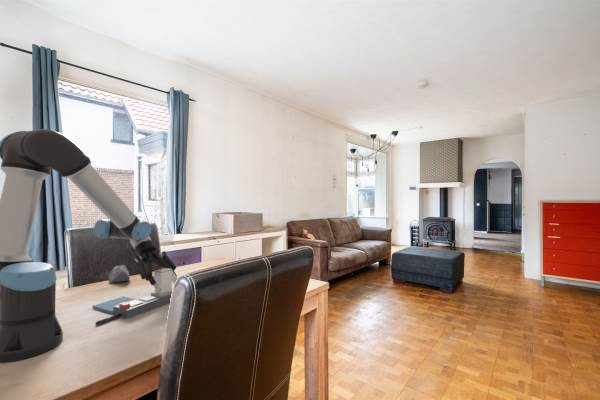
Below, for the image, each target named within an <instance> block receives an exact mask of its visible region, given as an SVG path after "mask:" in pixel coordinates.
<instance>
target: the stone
mask: <svg viewBox="0 0 600 400" xmlns="http://www.w3.org/2000/svg"><path fill="white" fill-rule="evenodd" d="M130 278H131V276H130V271H129V270H128V269H127V267H126V265H125V264H121V265H116V266H114V267H113V268H112V270H111V271H110V272H109V275H108V283H109V284H115V282H116V283H120V282H121V283H122V282H129V281H130Z"/></svg>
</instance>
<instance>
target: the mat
mask: <svg viewBox="0 0 600 400" xmlns="http://www.w3.org/2000/svg"><path fill="white" fill-rule="evenodd" d="M135 299H136V298H133V297H129V296H128V297H127V296H120V297H117V298H114V299H110V300H107V301H105V302H101V303H97V304H93V305H92V309H94V310H97V311H100V312H103V313H106V314H111V315H113V306H116V305H119V304H120V303H123V302H128V301H132V300H135Z"/></svg>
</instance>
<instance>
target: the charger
mask: <svg viewBox="0 0 600 400" xmlns="http://www.w3.org/2000/svg"><path fill="white" fill-rule="evenodd" d="M154 275H155V276H156V278H157V280H158V281H159V283H160V285H161V286H162V289H161V290H160V292H158V294H163V293H166V292H169V291H172V289H173V282H172V269H169V268H159V269H156V270H154ZM154 291H155V293H157V291H156V289H155V288H154Z"/></svg>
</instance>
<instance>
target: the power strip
mask: <svg viewBox="0 0 600 400" xmlns="http://www.w3.org/2000/svg"><path fill="white" fill-rule="evenodd" d="M172 290H173V288H172ZM171 294H172V291H169V292H166V293H163V294H158V293H155V290H154V291H152V292H151V291H150V294H147V295H144V296H141V297H137V298H134V299H135V300H132V301H128V302H123V303H120V304H119V305H116V306H113V314H112V316H109V317H106V318H103V319H100V320H98V321H97V320H96V321H95V325H96V326H99V325H103V324H105V323H107V322H111V321H113V320H115V319H116V320H117V319H118V318H123V319H130V318H132V317H136V316H139V315H140V314H141V315H142V314H144V313H147V312H149V311H151V310H153V309H154V310H155V309H156V308H159V307H162V306H164V305H167V304H170V303H171V302H170V298H171Z"/></svg>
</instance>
